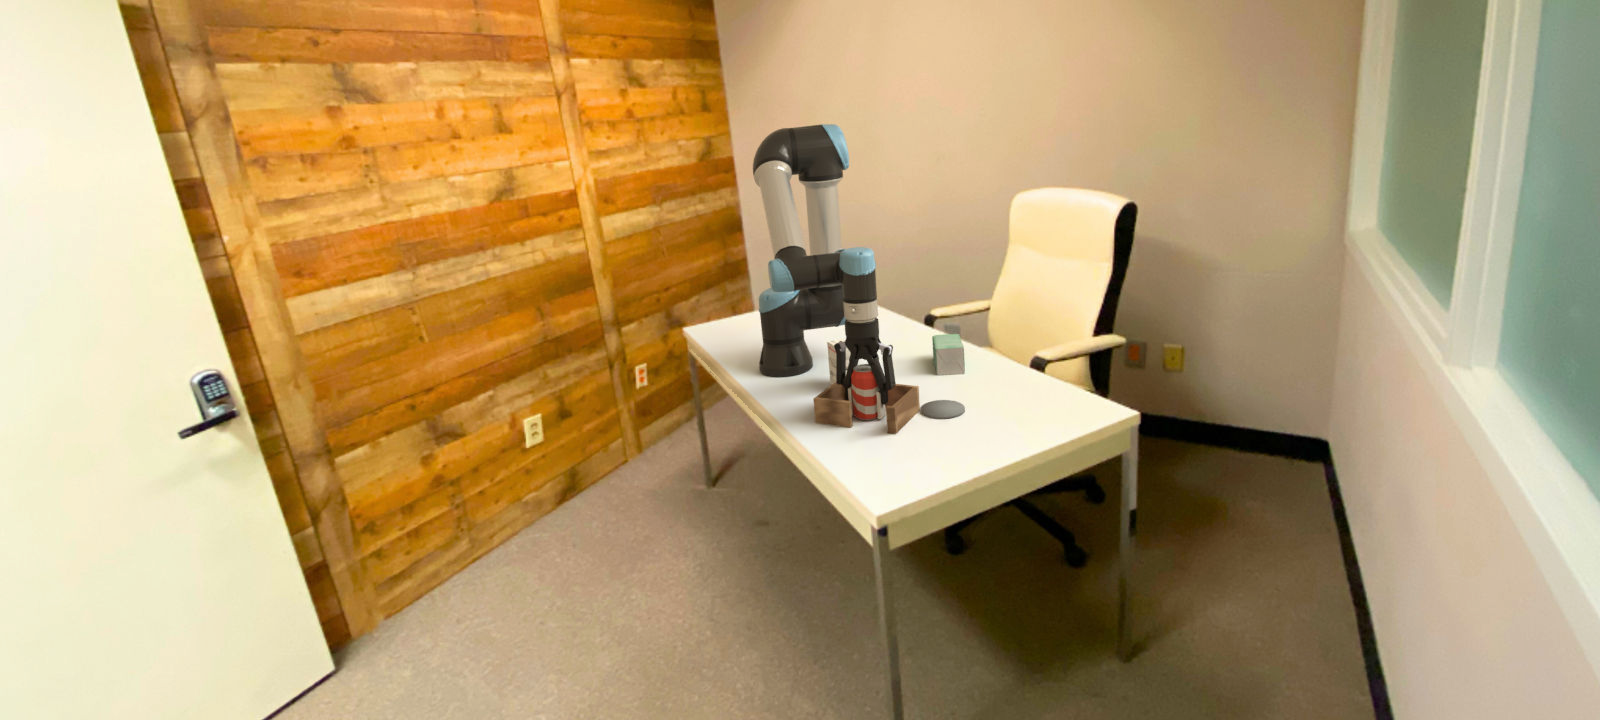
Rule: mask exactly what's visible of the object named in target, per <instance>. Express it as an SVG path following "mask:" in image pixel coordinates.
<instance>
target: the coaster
mask: <svg viewBox="0 0 1600 720" xmlns="http://www.w3.org/2000/svg"><path fill="white" fill-rule="evenodd" d="M965 412H966V406H965V405H964V404H963V403H961V402H959V401H956V400H949V399H939V400H937V399H936V400H931V401H928V402H926V403H923V404H922V405H921V406H920V413H921V415H923V416H924V417H926V418H930V419H935V420H937V419H938V420H947V419H954V418H958V417H960V416H962V415H963V414H964V413H965Z"/></svg>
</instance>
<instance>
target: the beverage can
mask: <svg viewBox="0 0 1600 720" xmlns="http://www.w3.org/2000/svg"><path fill="white" fill-rule="evenodd" d="M853 370H854V371H853V373H852V375H851V381H852V394H853V408H854V415H853V416H854V417H856V418H857V419H859V420H861V421H873V420H875V419H878V411H877V395H876V392H877V391H878V390H879V388H878V385H877V382H876V380H875V377H874V375H873V372H872V369H871V367H870V365H869V364H868V363H862V364H858V365H857V366H856V367H854V368H853Z"/></svg>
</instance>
